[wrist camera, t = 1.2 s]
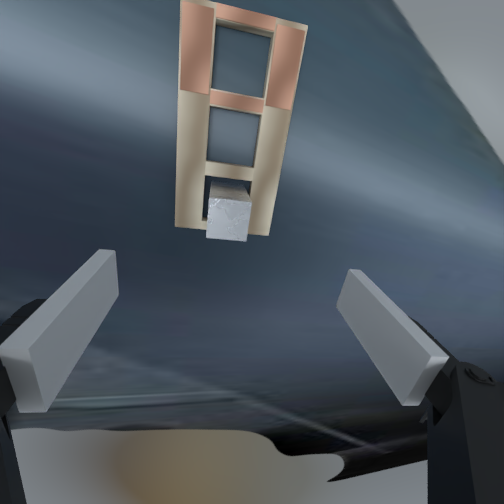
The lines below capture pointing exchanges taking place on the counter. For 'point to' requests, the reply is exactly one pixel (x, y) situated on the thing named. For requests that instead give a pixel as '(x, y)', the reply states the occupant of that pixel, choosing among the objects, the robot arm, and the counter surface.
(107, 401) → the counter surface
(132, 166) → the counter surface
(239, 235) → the steel peg
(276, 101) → the hole rail
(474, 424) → the robot arm
